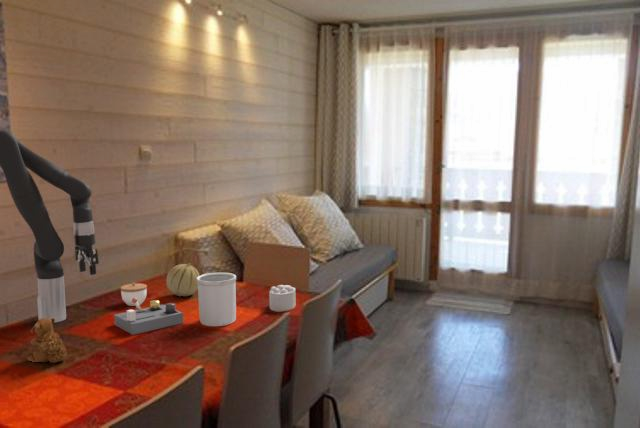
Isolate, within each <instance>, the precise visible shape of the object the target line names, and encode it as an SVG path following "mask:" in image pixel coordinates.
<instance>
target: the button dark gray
mask: <svg viewBox="0 0 640 428" xmlns="http://www.w3.org/2000/svg"><path fill="white" fill-rule="evenodd" d="M164 305H165V306H166V313H174V312H175V310H176V303H175V302H168V303H165V304H164Z"/></svg>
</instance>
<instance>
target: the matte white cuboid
mask: <svg viewBox="0 0 640 428" xmlns="http://www.w3.org/2000/svg"><path fill="white" fill-rule="evenodd" d="M126 312H127V320H129V321H130V322H131V321H135V320H136V312H135V311H134V309H128V310H127V309H126Z"/></svg>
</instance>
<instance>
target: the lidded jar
mask: <svg viewBox="0 0 640 428" xmlns="http://www.w3.org/2000/svg"><path fill="white" fill-rule="evenodd" d="M147 291H148V285H147V284H146V283H135V282H133V281H132V283H129V284H124V285H122V286H120V294H121V299H122V301H123V302H124V303H125V304H126V305H127V306H129V307H136V305H135V304H134V303H133V302H132V299H133V298H137V302H138V304H139V306H141V305H142V304H143V302H145V300H146V298H147V293H148V292H147Z"/></svg>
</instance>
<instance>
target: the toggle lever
mask: <svg viewBox="0 0 640 428" xmlns="http://www.w3.org/2000/svg"><path fill="white" fill-rule="evenodd" d="M132 302H133V303H134V304H135V305H136V306H135V307H136V310H138V311H141V309H142V308H141V305H139V304H138V302H137V298H133V299H132Z"/></svg>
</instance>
